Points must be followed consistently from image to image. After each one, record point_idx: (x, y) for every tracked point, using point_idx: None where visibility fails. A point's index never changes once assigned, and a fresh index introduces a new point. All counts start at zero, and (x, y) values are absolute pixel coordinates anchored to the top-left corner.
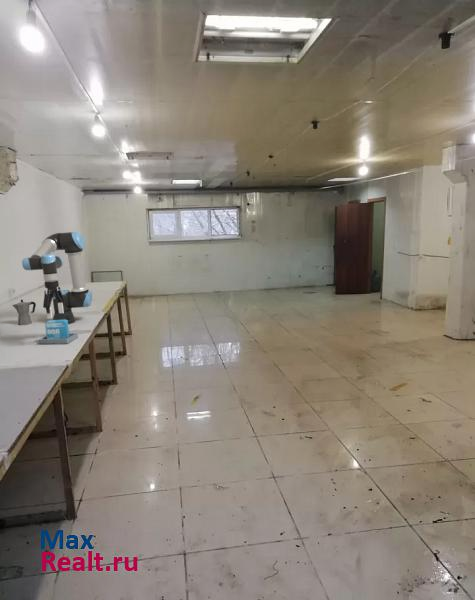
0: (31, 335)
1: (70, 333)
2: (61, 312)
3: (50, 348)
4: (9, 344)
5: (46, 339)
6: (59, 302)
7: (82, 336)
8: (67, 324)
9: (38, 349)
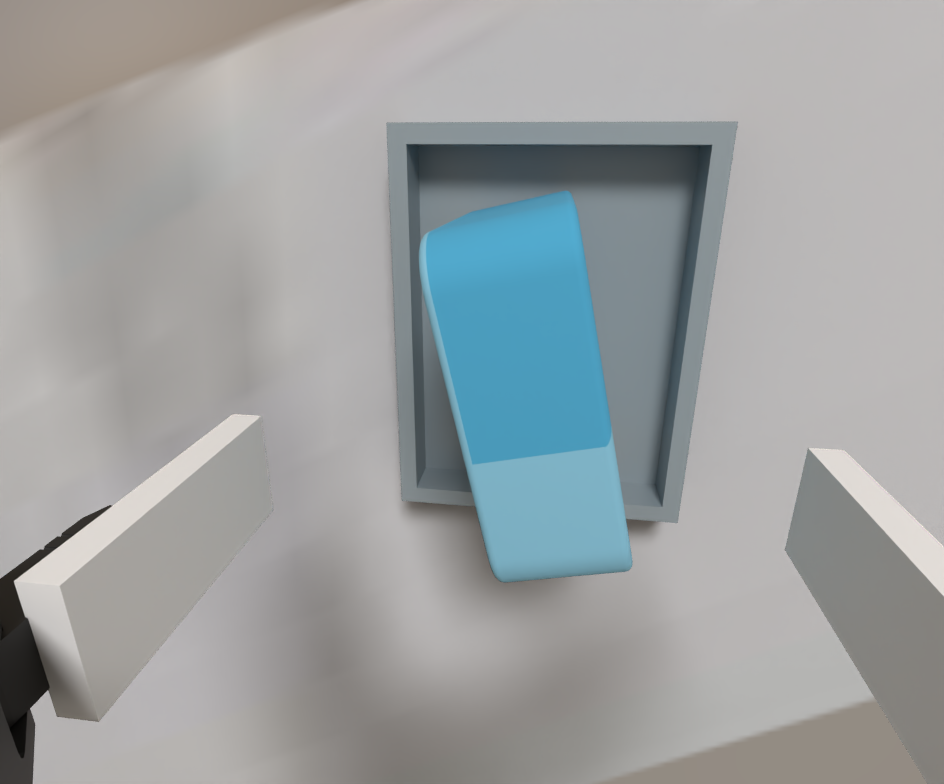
0: (301, 694)
1: (398, 230)
2: (258, 461)
3: (888, 274)
4: (600, 754)
5: (682, 429)
6: (40, 685)
7: (331, 93)
8: (479, 218)
9: (889, 408)
